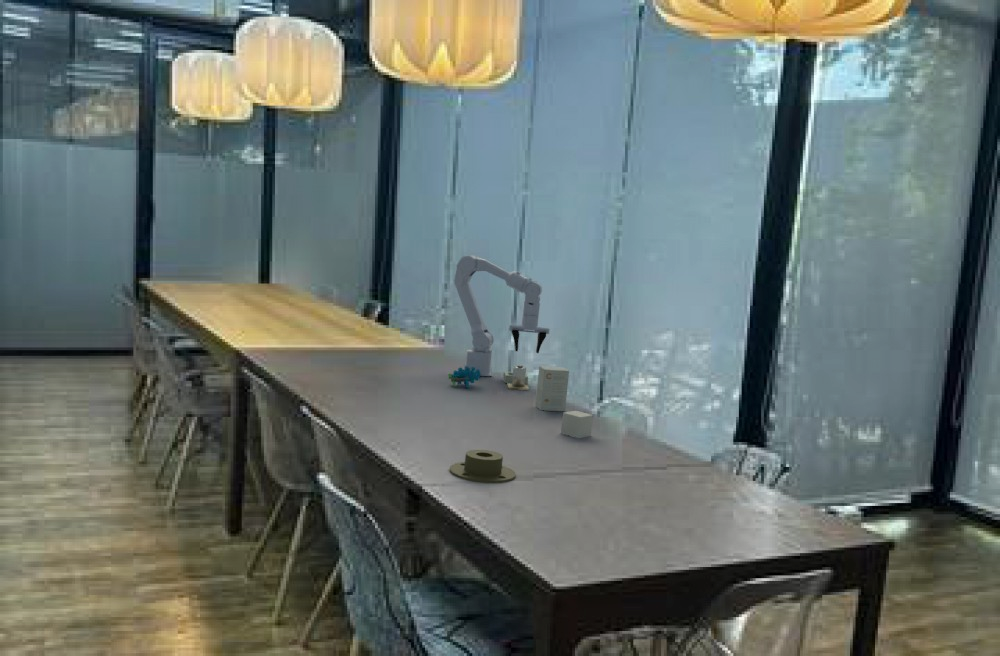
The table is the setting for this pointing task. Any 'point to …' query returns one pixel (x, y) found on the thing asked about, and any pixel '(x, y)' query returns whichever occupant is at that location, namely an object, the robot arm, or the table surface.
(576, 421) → the light grey cube
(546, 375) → the small box
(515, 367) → the grey cylinder
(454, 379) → the toy stegosaurus
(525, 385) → the coaster
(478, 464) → the flange
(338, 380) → the table surface
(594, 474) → the table surface
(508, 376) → the housing
